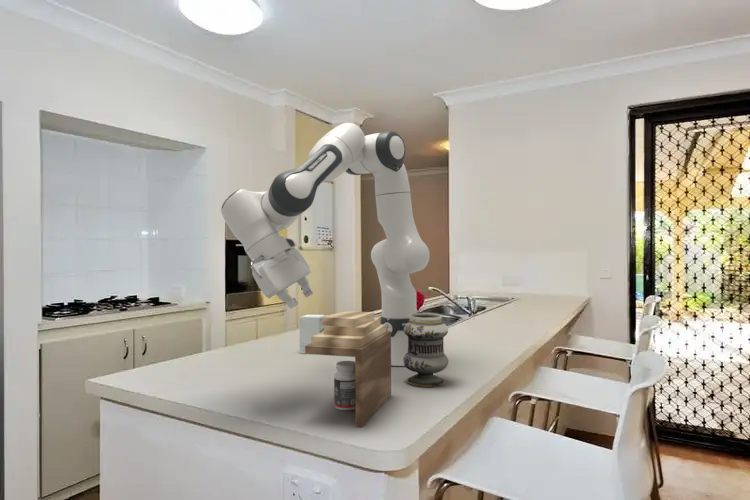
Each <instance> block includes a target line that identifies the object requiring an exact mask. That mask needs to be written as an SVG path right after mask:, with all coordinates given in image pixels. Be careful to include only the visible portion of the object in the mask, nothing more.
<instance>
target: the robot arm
mask: <svg viewBox="0 0 750 500" xmlns="http://www.w3.org/2000/svg"><path fill="white" fill-rule="evenodd" d="M405 144H406V143H405V141H404V139H403V138H402V137H401V136H400V134H398V133H397V132H396V131H392V130H385V131H383V130H382V131H381V132H377V133H371V134H367V135H365V133H364V132H363V130H362V129H361V127H359V126H358V125H357V124H356V123H353V122H343V123H341V124H339V125H337V126H336V127H333V129H331V130H329V131H328V132H327V133H325V134H324V135H323V136H322V137H320V139H319V140H318V141H317V142H316V143H315V144H314V145H313V147H312V149H311V150H310V151H309V153H308V157H307V160H306V161H304V162H303V163H302V164H301V165H300V166H298V167H297V168H294V169H290V170H286V171H283V172H280V173H279V174H278V175H276V177H275V178H274V179H273V180H272V183H271V185H270V187H269V188H268V189H267V190H266V191H252V190H247V189H245V188H240V189H237V190H235V191H234V192H233V193H231V194H230V195H229V196H228V197H227V198H226V199H225V200H224V201H223V203H222V206H221V208H220V209H221V210H220V212H221V215H222V217H223V219H224V222H225V223H226V225H227V226H228V228H229V230H230V231H231V233H232V234H233V236H234V237H235V238H236V239H237V240H238V241H239V242H240V244H242V246H243V248H244V251H245V254H246V256H248V258H249V259H250V260H251V261H250V269H251V270H252V271H251V273H252V276H253V279H254V281H255V282H256V284H257V286H258V288H259V289H260V291H261V293H262V294H263V296H264V297H266V298H268V299H271V298H272V297H274V296H277V298H278V299H279V300H281V301H282V302H283V303H285V304H286V305H287V306H288V308H289V309H291V310H292V309H293V308H295V307H296V306H298V304H299V302H298V300H297V299H296V298H295V297H293V296H291V294H289V291H288V289H287V288H289V287H291V286H292V285H294V284H295V283H297V284H298V286H300V287H301V289H302V294H303V296H304V297H305V298H308V297H310V296H311V295H313V294H314V291H313V290H312V288H311V286H310V283H309V279H308V278H307V276H308V275H310V273H311V267H310V266H309V263H308V262H307V261H306V259H305V257H304V256H303V254H302V253H301V252H300V250H299V249H298V248H296V247H297V243H296V242H295V240H293V239H292V238H287V237H284V235H281V234H280V233H279V232H280V231H283V230H286V229H287V228H289V227H291V225H293V223H294V222H295V221H296V220H297V219H298V218H299V217H300V216H301V215H302V214H303V213H305V211H306V210H308V209H309V208H311V206H312V204H313V202H314V200H315V197H316V193H317V189H318V187H319V186H320V185H321V184H322V183H323V181H325V180H329V181H330V180H331V181H333V180H335V179H336V178H338V177H340V176H342V175H343V174H345V172H346V174H348V175H350V176H351V175H353V176H360V175H365V174H372V175H373V177H374V192H375V194H374V195H375V204H376V214H377V215H376V216H377V221H378V223H379V224H380V225H381V226H382V228H383V232H384V234H385V237H386V238H385V239H382V240H381V241H378V242H377V243H375V244H374V245H373V247H372V249H371V252H370V259H371V262H372V264H373V265H374V267H375V270H376V273H377V278H378V281H379V282H378V283H379V286H380V295H381V316H380V324H383V325H386V331H391V367H392V366H393V367H396V366H397V367H406V366H405V365H404V363H403V358H404V356H405V355H406V353H408V336H407V335H406V334H405V333H404V326H405V325H406V324H407V323H408V322H409V320H410V315H411V314H415V313H418V312H417V311H418V310H417V309H418V308H417V302H418V301H417V291H416V288H415V287H414V285H413V284H412V281H411V277H410V274H415V273H417V272H420V271H422V270H424V269H425V268H426V267H427V266H428V264H429V262H430V258H431V257H430V249H429V247H428V246H427V244H426V243H425V242H424V241H423V240H422V237H421V236H420V233H419V232H418V229H417V226H416V223H415V218H414V213H413V207H412V198H411V197H412V195H411V185H410V181H409V175H408V172H407V168H406V166H405V164H404V160H405V157H406V145H405Z"/></svg>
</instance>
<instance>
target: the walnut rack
mask: <svg viewBox="0 0 750 500" xmlns="http://www.w3.org/2000/svg"><path fill="white" fill-rule="evenodd" d="M305 354H306V355H319V356H333V357H351V358H354V359H355V360H354V362H355V395H356V409H355V428H364V426H366V424H367V423H368V422H369V421H370V420H371V418H372V417H373V416H374V415H375V414H376V413H377V412H378V411H379V409H380V408H382V406H383V405H385V403H386V402H387V401H388V399H390V397H391V396H392V365H391V331H386V333H384V334H383V335H381V336H379V337H378V338H376V339H374V340H373V341H371V342H370V343H368V344H366V345H365V346H363V347H361V348H356V347H339V346H322V345H311V344H309V345H307V346H305ZM305 354H304V355H305Z"/></svg>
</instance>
